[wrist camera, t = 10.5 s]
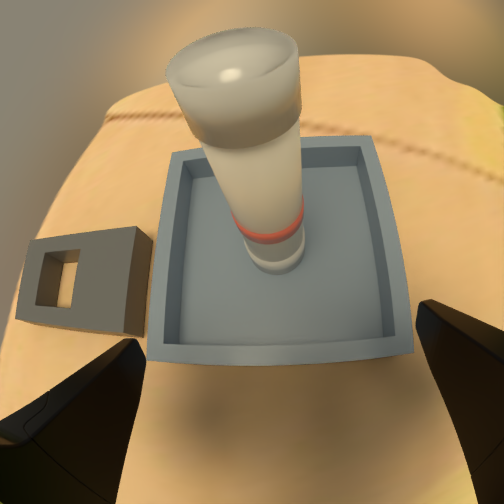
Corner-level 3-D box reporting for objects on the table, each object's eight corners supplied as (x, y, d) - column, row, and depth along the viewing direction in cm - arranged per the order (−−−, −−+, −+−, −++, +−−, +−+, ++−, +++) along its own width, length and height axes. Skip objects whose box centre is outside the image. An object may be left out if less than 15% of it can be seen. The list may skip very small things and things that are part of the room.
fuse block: (143, 337, 18) (123, 332, 16) (35, 324, 20) (15, 318, 17) (152, 241, 21) (136, 226, 18) (47, 251, 22) (30, 240, 20)
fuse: (306, 273, 17) (306, 80, 5) (249, 276, 18) (152, 104, 6) (302, 221, 18) (290, 22, 6) (249, 225, 19) (178, 40, 7)
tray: (396, 355, 15) (414, 352, 12) (169, 362, 17) (146, 360, 14) (364, 162, 20) (370, 135, 18) (185, 176, 22) (172, 152, 20)
